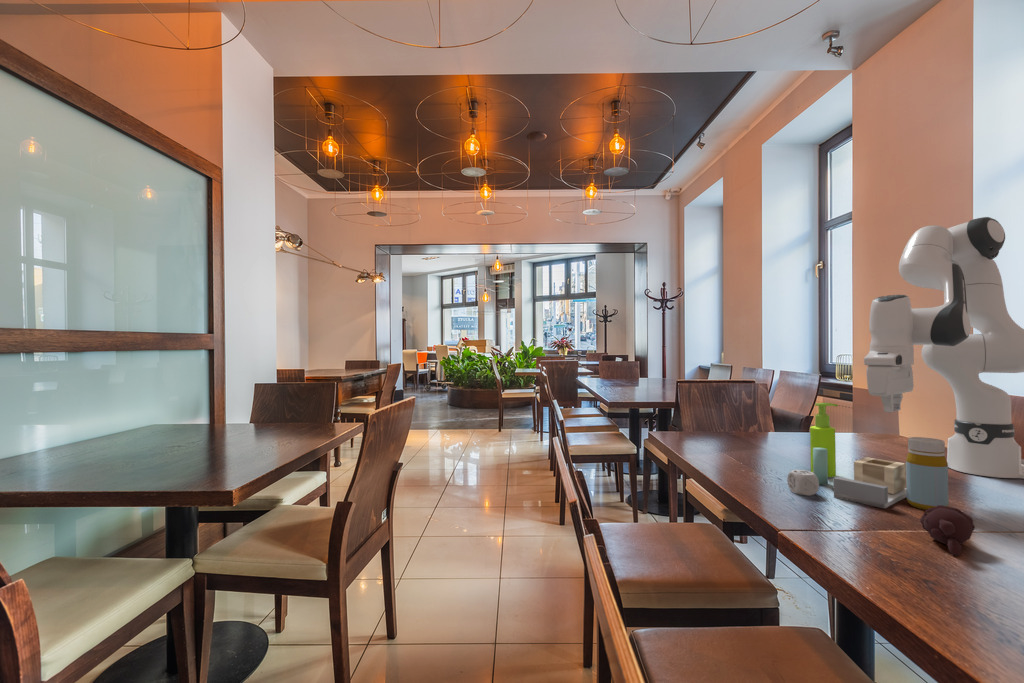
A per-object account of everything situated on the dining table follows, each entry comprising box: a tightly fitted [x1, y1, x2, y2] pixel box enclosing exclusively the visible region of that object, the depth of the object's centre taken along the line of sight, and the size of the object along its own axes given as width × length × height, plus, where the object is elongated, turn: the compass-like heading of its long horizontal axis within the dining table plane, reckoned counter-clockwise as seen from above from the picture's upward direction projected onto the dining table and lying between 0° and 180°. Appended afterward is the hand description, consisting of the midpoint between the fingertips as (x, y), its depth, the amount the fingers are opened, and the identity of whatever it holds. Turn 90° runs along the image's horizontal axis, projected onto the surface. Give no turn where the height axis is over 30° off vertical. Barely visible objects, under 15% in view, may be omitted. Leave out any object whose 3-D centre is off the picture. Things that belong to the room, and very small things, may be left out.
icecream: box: [919, 505, 975, 557], centre depth 87 cm, size 7×7×15 cm
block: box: [853, 456, 907, 494], centre depth 116 cm, size 8×8×6 cm
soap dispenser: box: [809, 402, 839, 478], centre depth 132 cm, size 6×7×20 cm
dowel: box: [813, 448, 829, 486], centre depth 124 cm, size 3×3×9 cm
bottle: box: [905, 436, 949, 511], centre depth 106 cm, size 7×7×15 cm
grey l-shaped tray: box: [833, 476, 907, 509], centre depth 114 cm, size 18×10×4 cm, turn 124°
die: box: [786, 469, 820, 496], centre depth 117 cm, size 5×5×5 cm
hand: (892, 411), depth 121 cm, fingers open, 3 cm apart
